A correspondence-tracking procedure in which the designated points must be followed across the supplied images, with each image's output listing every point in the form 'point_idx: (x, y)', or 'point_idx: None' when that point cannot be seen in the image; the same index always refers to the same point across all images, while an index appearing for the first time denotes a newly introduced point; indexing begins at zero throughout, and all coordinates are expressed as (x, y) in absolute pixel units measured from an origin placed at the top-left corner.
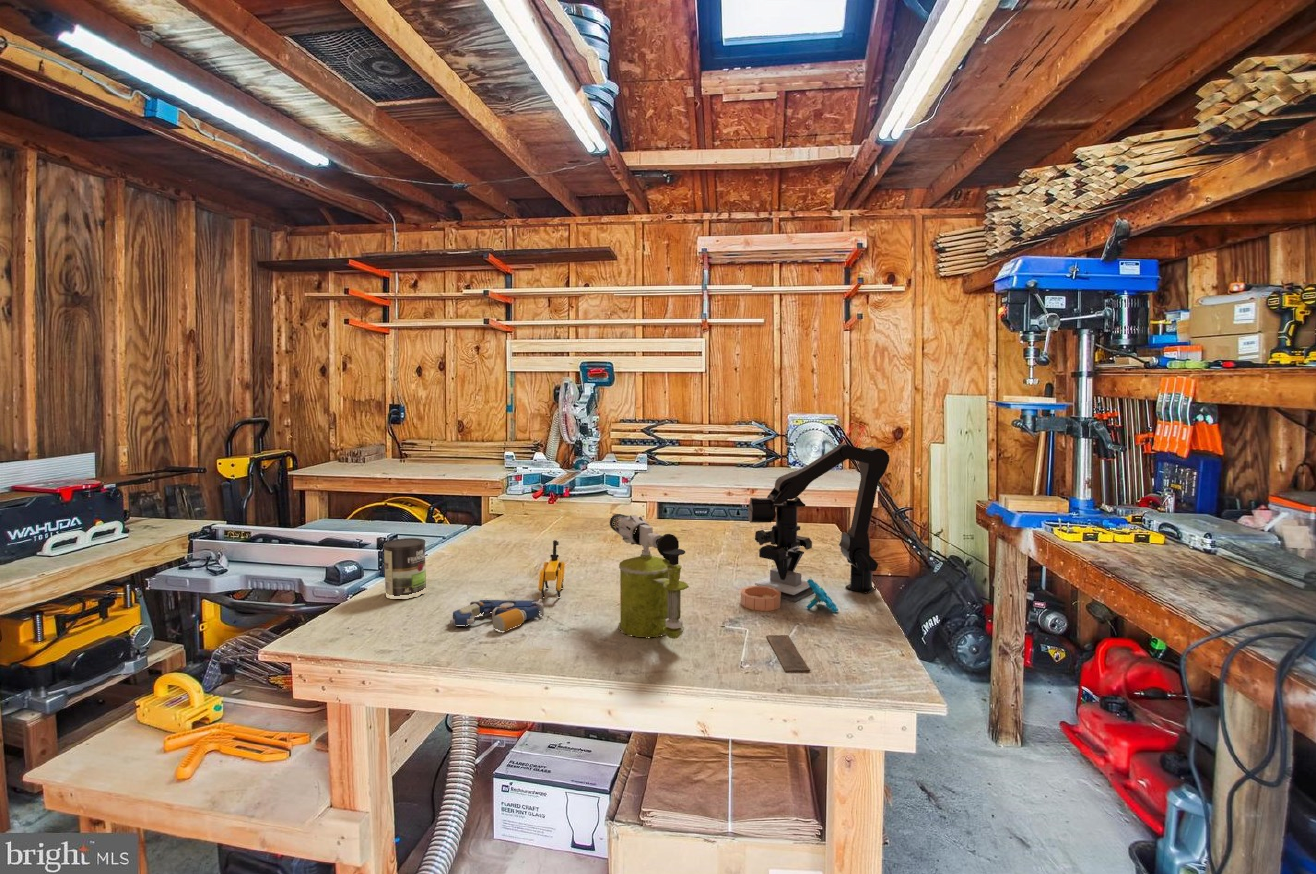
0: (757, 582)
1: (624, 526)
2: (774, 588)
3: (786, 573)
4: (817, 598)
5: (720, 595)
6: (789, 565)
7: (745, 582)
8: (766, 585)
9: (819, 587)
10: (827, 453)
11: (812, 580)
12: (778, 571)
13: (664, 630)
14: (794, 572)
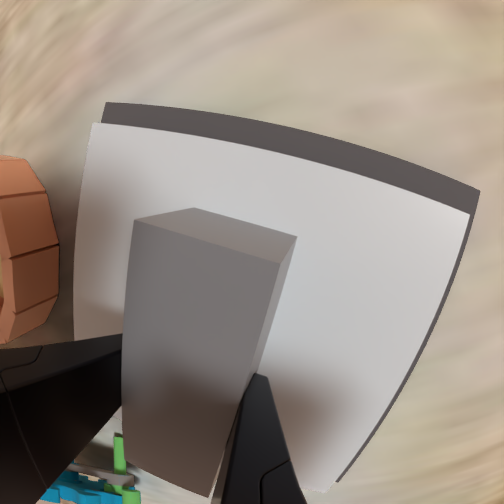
0: (104, 134)
1: None
2: (13, 308)
3: (108, 409)
4: None
5: (22, 52)
6: (222, 474)
7: (246, 6)
8: (78, 224)
9: (339, 478)
10: None
11: (44, 498)
12: (78, 344)
13: None
14: (203, 465)
